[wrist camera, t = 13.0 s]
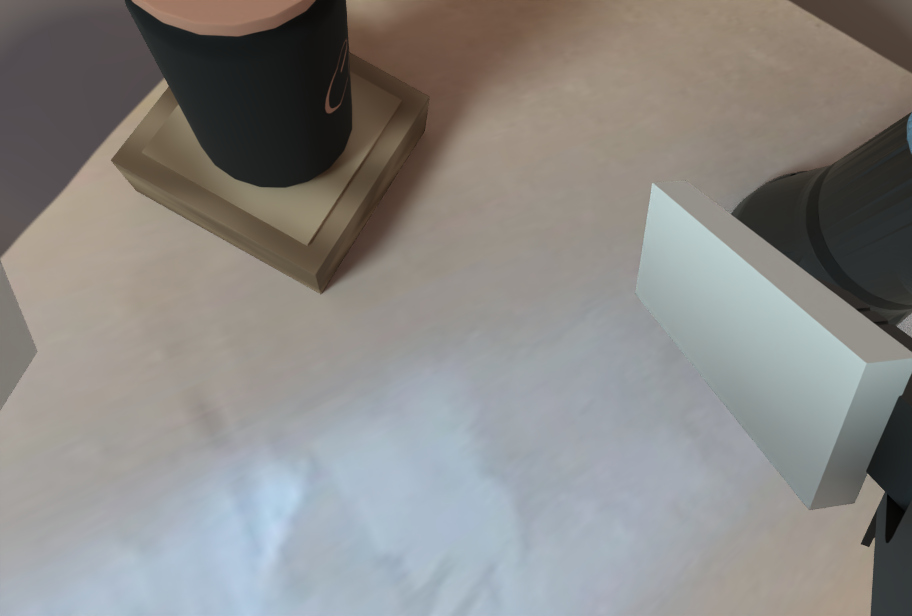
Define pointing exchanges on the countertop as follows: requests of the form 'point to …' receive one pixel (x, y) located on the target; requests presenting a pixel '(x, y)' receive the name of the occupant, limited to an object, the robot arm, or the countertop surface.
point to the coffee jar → (257, 81)
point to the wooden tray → (283, 209)
